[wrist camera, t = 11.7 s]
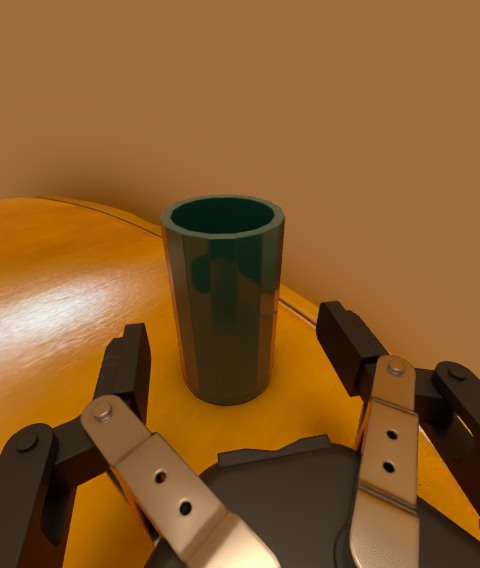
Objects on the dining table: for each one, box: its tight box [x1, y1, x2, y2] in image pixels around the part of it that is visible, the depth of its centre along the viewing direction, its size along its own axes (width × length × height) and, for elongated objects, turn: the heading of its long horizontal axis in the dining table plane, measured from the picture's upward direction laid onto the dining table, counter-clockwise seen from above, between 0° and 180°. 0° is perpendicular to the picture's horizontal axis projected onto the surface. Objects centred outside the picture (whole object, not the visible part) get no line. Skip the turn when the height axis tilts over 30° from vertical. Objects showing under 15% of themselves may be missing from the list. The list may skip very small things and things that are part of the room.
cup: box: [160, 195, 285, 405], centre depth 18 cm, size 6×6×11 cm
